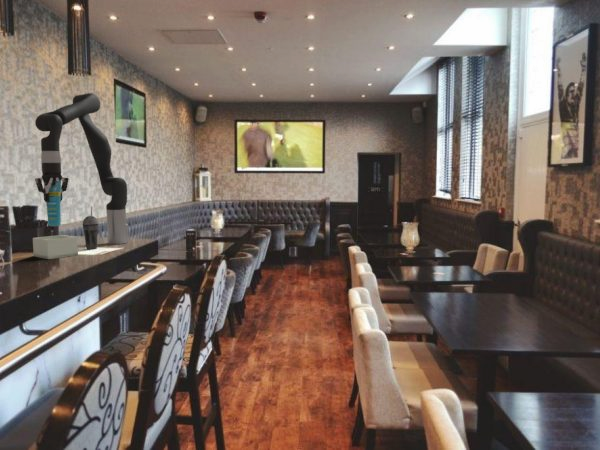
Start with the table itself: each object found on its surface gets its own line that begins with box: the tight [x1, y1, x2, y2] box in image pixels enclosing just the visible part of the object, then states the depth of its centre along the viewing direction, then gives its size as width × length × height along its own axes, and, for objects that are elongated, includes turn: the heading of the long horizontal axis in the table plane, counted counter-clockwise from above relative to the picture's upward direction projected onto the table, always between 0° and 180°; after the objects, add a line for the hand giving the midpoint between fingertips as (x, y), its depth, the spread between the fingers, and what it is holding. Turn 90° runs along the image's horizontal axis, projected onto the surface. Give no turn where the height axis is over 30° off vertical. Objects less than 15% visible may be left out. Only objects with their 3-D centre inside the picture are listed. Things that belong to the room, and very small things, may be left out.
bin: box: [32, 234, 79, 260], centre depth 234 cm, size 13×13×8 cm
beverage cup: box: [82, 206, 99, 250], centre depth 254 cm, size 7×7×20 cm
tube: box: [42, 180, 62, 227], centre depth 232 cm, size 7×5×19 cm, turn 98°
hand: (53, 201), depth 232 cm, fingers closed on tube, 4 cm apart
